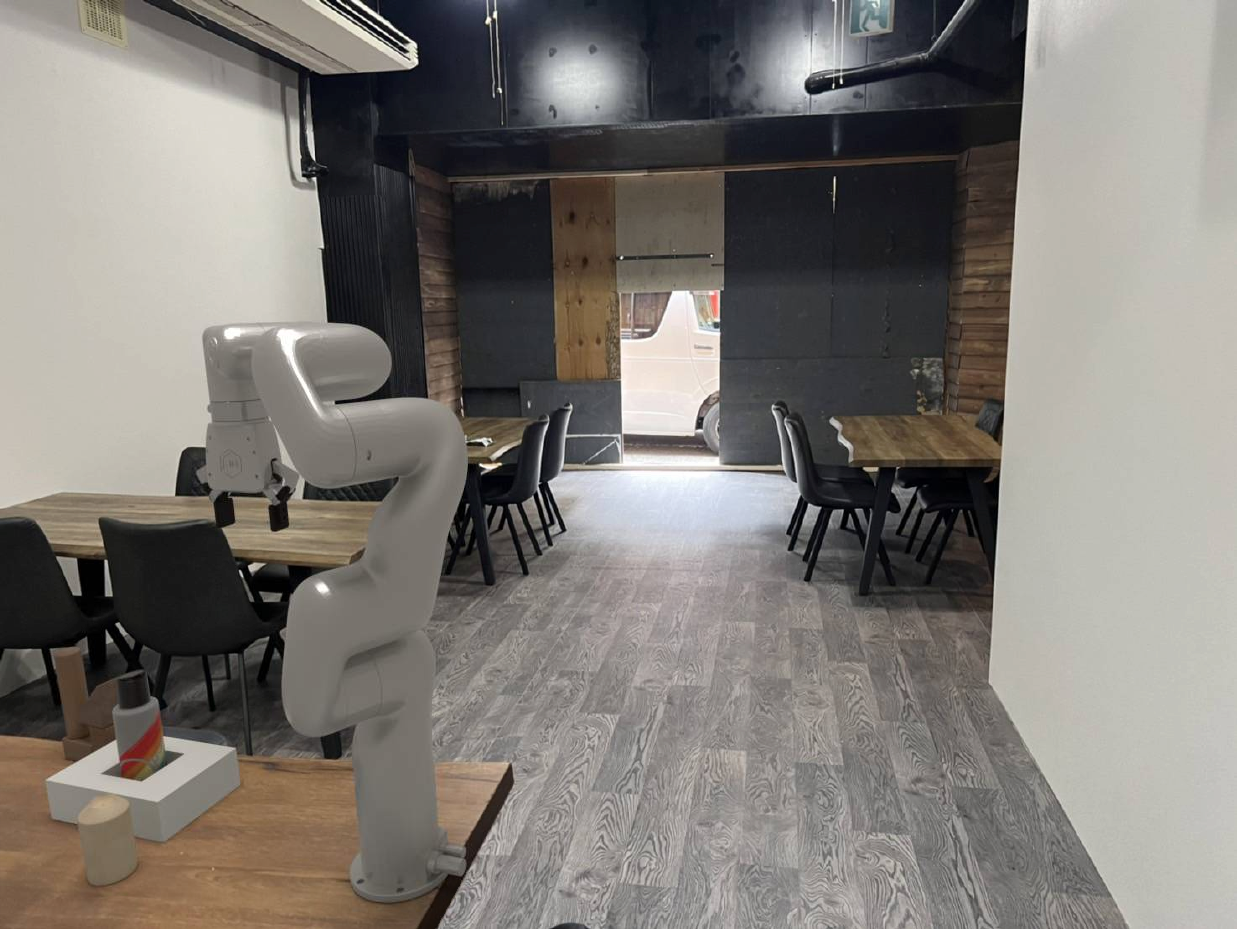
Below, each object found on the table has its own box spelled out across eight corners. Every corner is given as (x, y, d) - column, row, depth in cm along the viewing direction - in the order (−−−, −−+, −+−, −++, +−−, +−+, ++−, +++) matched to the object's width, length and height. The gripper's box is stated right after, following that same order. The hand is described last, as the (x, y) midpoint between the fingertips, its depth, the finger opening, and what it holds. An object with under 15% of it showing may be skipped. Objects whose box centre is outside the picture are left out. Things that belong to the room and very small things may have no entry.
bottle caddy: (240, 785, 121) (236, 748, 120) (163, 842, 108) (157, 802, 107) (136, 766, 127) (131, 730, 126) (51, 818, 114) (45, 780, 113)
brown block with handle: (109, 771, 126) (93, 663, 123) (64, 759, 130) (46, 653, 127) (131, 759, 129) (116, 653, 126) (86, 747, 133) (70, 644, 130)
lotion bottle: (139, 818, 114) (119, 685, 110) (118, 805, 117) (98, 676, 113) (179, 797, 118) (161, 669, 115) (158, 786, 121) (140, 661, 118)
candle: (101, 892, 99) (89, 818, 97) (78, 877, 102) (66, 805, 100) (146, 866, 103) (136, 795, 102) (124, 852, 106) (113, 783, 105)
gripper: (171, 414, 115) (185, 531, 118) (271, 416, 110) (284, 538, 113) (211, 408, 122) (224, 518, 125) (307, 409, 117) (318, 524, 120)
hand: (252, 527), depth 119 cm, fingers open, 9 cm apart
